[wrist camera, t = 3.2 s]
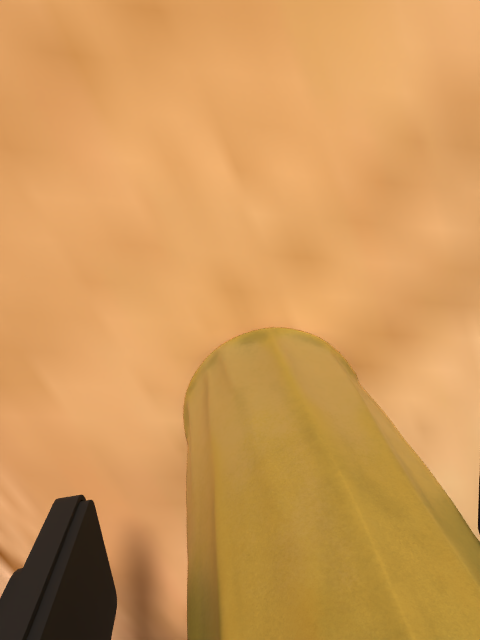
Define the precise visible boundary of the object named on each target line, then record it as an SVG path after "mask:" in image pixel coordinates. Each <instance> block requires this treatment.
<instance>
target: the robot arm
mask: <svg viewBox="0 0 480 640" xmlns="http://www.w3.org/2000/svg"><path fill="white" fill-rule="evenodd" d="M478 530H479V533H480V478H479V509H478ZM116 609H117V595H116V590H115V586H114V582H113V577H112V573H111V569H110V565H109V561H108V557H107V553H106V549H105V545H104V541H103V537H102V533H101V529H100V525H99V521H98V517H97V513H96V509H95V505H94V502H93V501H92V500H87V501H86V499H85V497H84V496H83V495H77V496H71V497H64V498H58V499H56V500H55V502H54V503H53V505H52V507H51V510H50V512H49V514H48V516H47V518H46V520H45V522H44V524H43V527H42V529H41V531H40V533H39V535H38V537H37V539H36V541H35V544H34V546H33V548H32V550H31V552H30V554H29V556H28V558H27V560H26V563H25V565H24V567H23V568H21V569H18V570H17V571H15V572H14V573H13V575H12V576H11V578H10V580H9V582H8V584H7V586H6V588H5V590H4V592H3V594H2V596H1V598H0V640H111V636H112V630H113V625H114V620H115V615H116Z"/></svg>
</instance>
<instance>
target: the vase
mask: <svg viewBox="0 0 480 640" xmlns="http://www.w3.org/2000/svg"><path fill="white" fill-rule="evenodd" d="M183 418H184V429H185V435H186V438H187V442H188V454H187V475H186V507H187V553H188V578H187V639H188V640H480V542H479V540H478V539H477V538H476V537H475V535H474V534H473V533H472V531H471V529H470V528H469V526H468V525H467V523H466V522H465V520H464V519H463V517H462V515H461V514H460V512H459V511H458V509H457V508H456V506H455V505H454V503H453V502H452V501H451V499H450V498H449V496H448V495H447V494H446V492H445V491H444V490H443V488H442V487H441V485H440V484H439V483H438V481H437V480H436V478H435V477H434V476H433V474H432V473H431V472H430V470H429V469H428V468H427V467H426V465H425V464H424V463H423V461H422V460H421V459H420V458H419V456H418V455H417V454H416V453H415V451H414V450H413V449H412V448H411V447H410V446H409V444H408V443H407V442H406V441H405V439H404V438H403V437H402V435H401V434H400V433H399V431H398V430H397V428H396V427H395V426H394V424H393V423H392V421H391V420H390V419H389V418H388V416H387V415H386V414H385V412H384V411H383V410H382V409H381V408H380V407H379V405H378V404H377V403H376V402H375V401H374V400H373V399H372V398H371V396H370V395H369V394H368V393H367V392H366V391H365V390H364V389H363V387H362V386H361V385H360V383H359V381H358V378H357V375H356V374H355V372H354V371H353V369H352V368H351V366H350V365H349V364H348V362H347V361H346V360H345V358H344V357H343V356H342V355H341V354H340V353H339V352H338V351H337V350H336V349H334V348H333V347H332V346H331V345H330V344H329V343H327V342H325V341H324V340H322V339H321V338H319V337H317V336H315V335H312V334H310V333H306V332H303V331H300V330H295V329H289V328H272V327H271V328H264V329H258V330H254V331H251V332H248V333H245V334H242V335H240V336H237V337H235V338H233V339H231V340H229V341H227V342H226V343H224V344H222V345H221V346H219V347H218V348H217V349H216V350H214V351H213V352H212V353H211V354H210V355H209V356H208V357H207V358H206V359H205V360H204V361H203V363H202V364H201V365H200V367H199V368H198V369H197V371H196V372H195V374H194V376H193V377H192V379H191V382H190V384H189V386H188V389H187V392H186V396H185V401H184V411H183Z"/></svg>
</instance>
